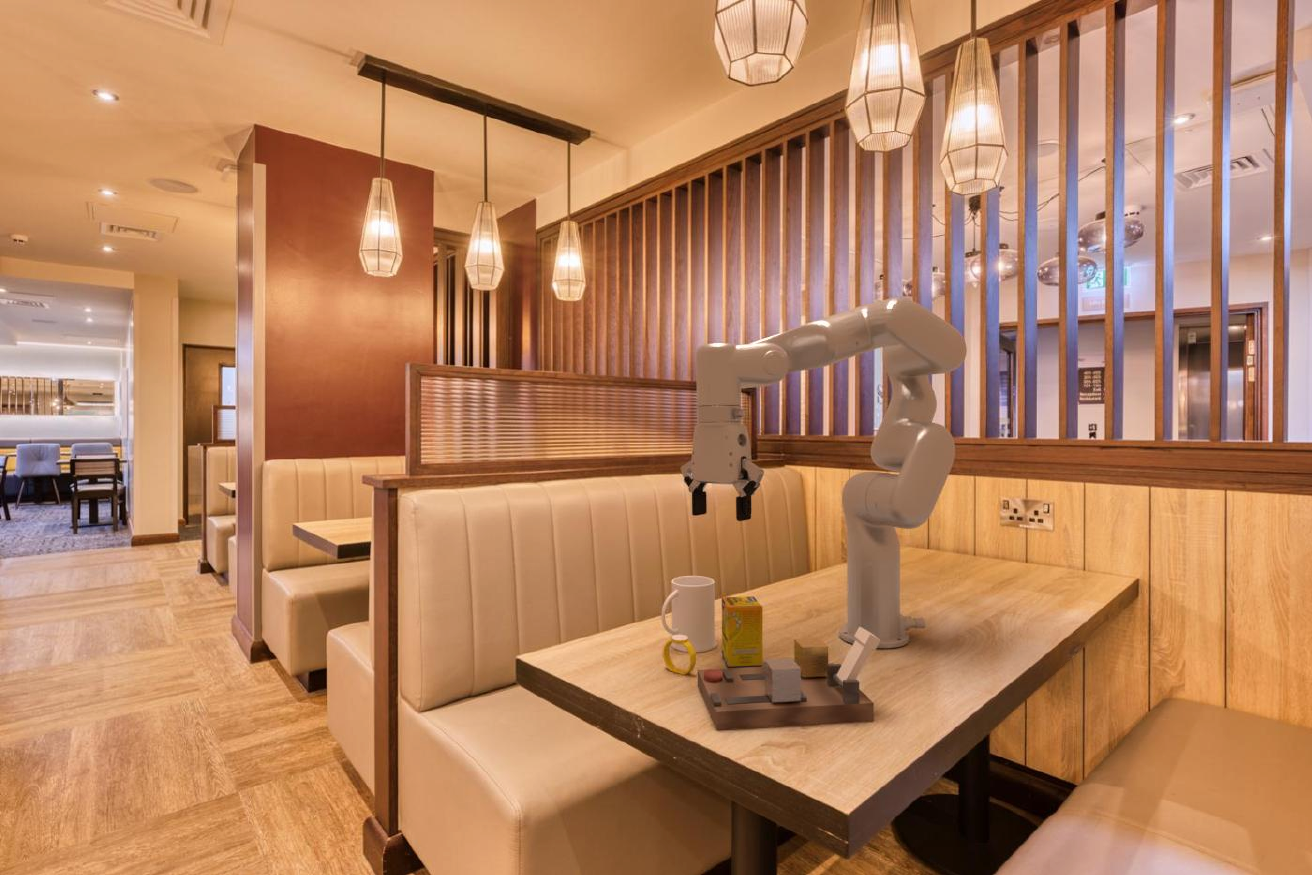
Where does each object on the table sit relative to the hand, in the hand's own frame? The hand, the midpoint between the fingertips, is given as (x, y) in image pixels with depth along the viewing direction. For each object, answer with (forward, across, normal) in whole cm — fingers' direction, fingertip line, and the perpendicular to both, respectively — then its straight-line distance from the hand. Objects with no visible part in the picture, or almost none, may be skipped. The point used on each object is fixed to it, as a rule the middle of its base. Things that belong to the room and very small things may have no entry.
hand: (720, 517), depth 111 cm
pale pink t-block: (+21, -24, +2) cm, 32 cm away
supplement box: (+25, -2, -2) cm, 26 cm away
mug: (+25, +10, -2) cm, 28 cm away
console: (+25, -16, +6) cm, 30 cm away
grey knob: (+22, -19, +10) cm, 31 cm away
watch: (+25, +3, +8) cm, 27 cm away
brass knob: (+22, -17, -1) cm, 28 cm away
